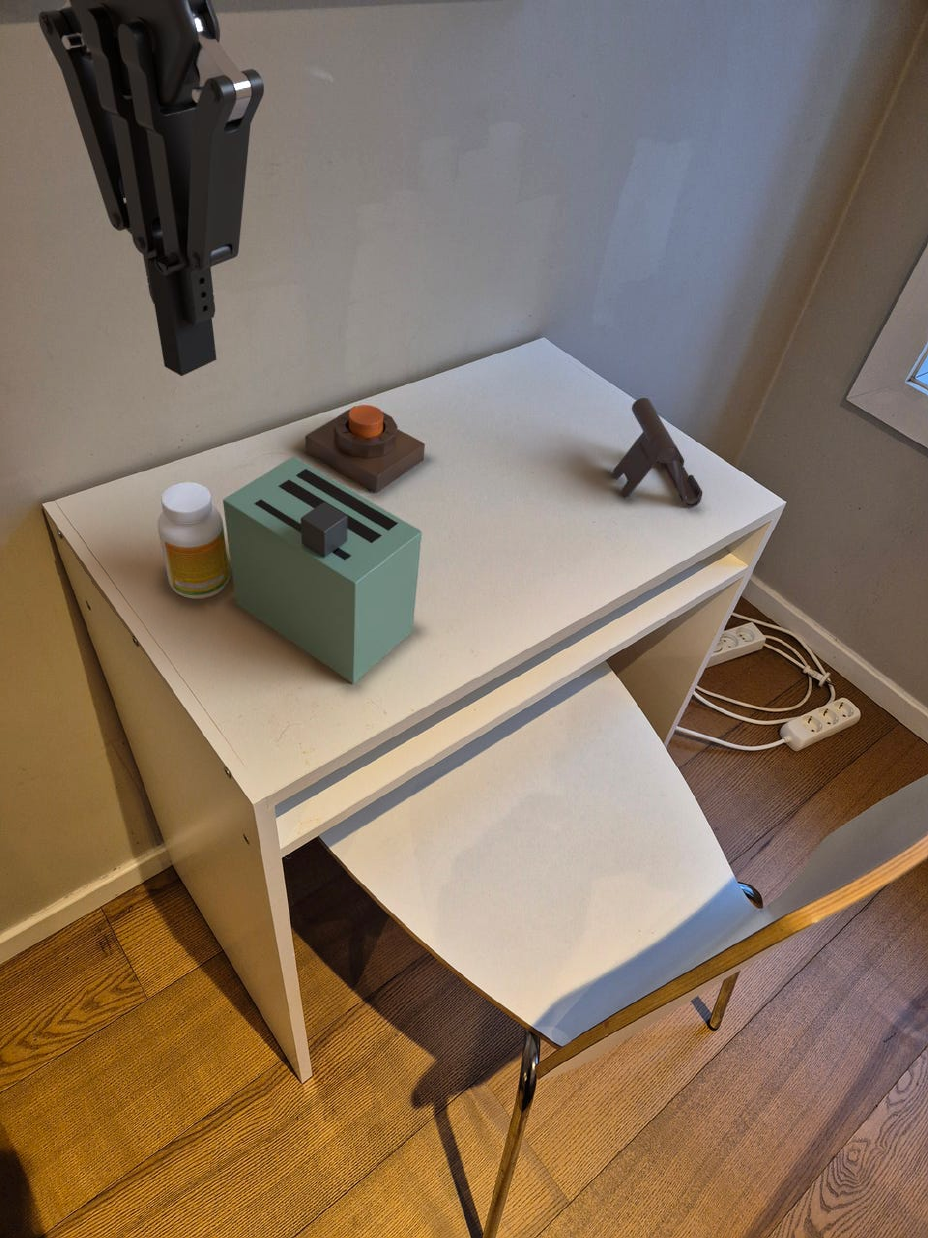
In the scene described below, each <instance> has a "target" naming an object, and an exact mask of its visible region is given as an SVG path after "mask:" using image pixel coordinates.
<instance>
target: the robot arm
mask: <svg viewBox="0 0 928 1238" xmlns="http://www.w3.org/2000/svg"><path fill="white" fill-rule="evenodd" d="M38 23H39V28H40V30H41V32H42V35H43V36H44V37H45V38H44V39H45V40H46V42H47V44H48V46H49V48H50V50H51V53H52V54H53V57H54V58H55V61H56V62H57V64H58V66H59V69H60V70H61V73H62V76H63V80H64V83H65V86H66V89H67V92H68V95H69V98H70V103H71V106H72V108H73V111H74V114H75V117H76V120H77V123H78V126H79V130H80V132H81V137H82V139H83V142H84V145H85V149H86V151H87V155H88V158H89V161H90V163H91V167H92V170H93V173H94V177H95V179H96V182H97V185H98V188H99V191H100V194H101V198H102V201H103V204H104V208H105V210H106V213H107V216H108V219H109V223H110V224H111V225H112V227H113V228H114V229H115V230H116V231H119V232H121V231H124V230H126V231H127V232H128V233H129V234H130V235H131V238H132V242H133V244H134V246H135V248H136V250H137V251H138V252H139V253H141V254H142V256H143V263H144V268H145V274H146V277H147V278H146V280H147V281H146V282H147V287H148V292H149V293H148V294H149V296H150V298H151V302H152V303H153V305H154V311H155V316H156V323H157V329H158V335H159V341H160V347H161V353H162V360H163V366H164V367H165V368H167V369H168V370H170V371H171V372H173V373H175V374H176V375H179V376H180V377H183V376H185V375H187V374H189V373H191V372H193V371H196V370H198V369H200V368H202V367H205V366H207V365H208V364H210V363H213V362H215V361H216V360H217V351H216V342H215V334H214V325H213V319H214V318H215V315H216V314H215V313H216V304H215V295H214V286H213V276H212V267H214V266H217V265H219V264H222V263H224V262H227V261H230V260H232V259H234V258H237V256H238V255H239V252H240V251H239V250H240V240H241V228H242V220H243V219H242V218H243V209H244V199H245V198H244V197H245V188H246V175H247V168H248V167H247V166H248V165H247V164H248V157H249V147H250V134H251V124H252V122H253V119H254V117H255V115H256V113H257V110H258V108H259V106H260V104H261V102H262V100H263V96H264V94H265V85H264V81H263V78H262V76H261V75H260V73H259V72H258V71H257V70H256V69H254V68H250V69H245V70H241V71H240V70H239V68H238V67H237V66H236V64H235V63H234V62H233V61H232V59H231V58H230V56H229V55H228V54H227V52H226V51H225V49H224V48H223V47H222V46H221V45H220V41H221V29H220V23H219V19H218V16H217V13H216V11H215V8H214V5H213V1H212V0H67V1H66V2H64V4H63V5H62V6H61V7H60V8H57V9H51V10H44V11H41V12H39V15H38Z"/></svg>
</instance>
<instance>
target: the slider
mask: <svg viewBox="0 0 928 1238" xmlns="http://www.w3.org/2000/svg"><path fill="white" fill-rule="evenodd" d="M301 538H302V544H304V545H305V546H307V547H308V548H310V549H311V550H313V551H315V552H316V553H318V554H319V555H321V556H323V557H326V556H328V555H329V554H330V553H332V552H333V551H334V550H336V549H337V548H339V547H340V546H341V545H343V544H344V543H345V542H347V515H345V514H343V513H342V512H340V511H338V510H337V509H335V508H333V507H332V506H330V505H328V504H327V503H325V502H324V503H322V504H321V505H319V506H318V507H316V508H315V509H313V510H312V511H310V512H309V513H307V514H306V515H304V516H303V517H301Z"/></svg>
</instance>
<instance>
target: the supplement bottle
mask: <svg viewBox="0 0 928 1238" xmlns="http://www.w3.org/2000/svg"><path fill="white" fill-rule="evenodd" d="M160 503H161V508H162V509H161V510H162V512H161V513H160V515H159V517H158V520H157V532H158V536H159V541H160V545H161V551H162V555H163V561H164V566H165V572H166V575H167V580H168V583H169V586H170V587H171V589H172V590H173V591H174V592H175V593H176V594H178V595H180V596H182V597H185V598H189V599H194V600H195V599H205V598H206V599H207V598H210V597H212V596H215V595H217V594H219V593H220V592H222V591H223V590H224V588H226V586H227V585H228V584H229V581H230V576H231V575H230V566H229V565H230V564H229V559H228V551H227V544H226V536H225V527H224V522H223V521H224V520H223V517H222V514H221V512H220V511H219V510H218V509H217V507H215V506H214V505H213V502H212V495H211V492H210V490H209V489H208V488H207V487H206V486H204V485H203V484H200V483H196V482H192V481H191V482H190V481H185V482H178V483H174V484H172V485H170V486H169V487H167V488H165V490H164V491H163V492H162V494H161V497H160Z"/></svg>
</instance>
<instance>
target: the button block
mask: <svg viewBox="0 0 928 1238" xmlns="http://www.w3.org/2000/svg"><path fill="white" fill-rule="evenodd" d="M356 406H357V405H355V406H353V407H351V408H350V409H349V408H348V409H347V410H345V411H344V412H342V413H340V414H339V415H337V416H336V417H334V418H333V419H331V420H329V421H328V422H326V423H324V424H322V425H321V426H319V427H317V428H316V429H314V430H312V431H311V432H310V433H307V434H306V435H305V436H304V440H305V441H304V442H305V453H306V454H308V455H309V456H311V457H313V458H315V459H316V460H317V461H319V462H321V463H323V464H325V465H326V466H328V467H330V468H331V469H333V470H335V471H337V472H338V473H340V474H342V475H344V476H345V477H347V478H349V479H351V480H352V481H354V482H355V483H357V484H359V485H361V486H363V487H364V488H366V489H368V490H370V491H371V492H373V493H375V494H377V493H379V492H380V491H382V490H383V489H384V488H386V487H387V486H389V485H390V484H392V483H393V482H394V481H396V480H397V479H399V478H400V477H402V476H403V475H404V474H406V473H408V472H409V471H410V470H411V469H413V468H414V467H416V466H417V465H419V464H420V463H422V462H423V461H424V459H425V448H426V447H425V446H426V443H424V442H422V441H420V440H419V439H417V438H415V437H413V436H411V435H410V434H408V433H406V432H404V431H402V430H400V429H399V428H398V424H397V423H396V421H395V419H394V418H393V416H392V415H390V414H388V413H386V412H384V411H382V413H383V431H382V433H381V434H380V435H379V436H376V437H370V438H365V437H359V436H356V435H354V434H352V433H351V432H350V431H349V412H350V410H351V409H352V408H354V407H356Z"/></svg>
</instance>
